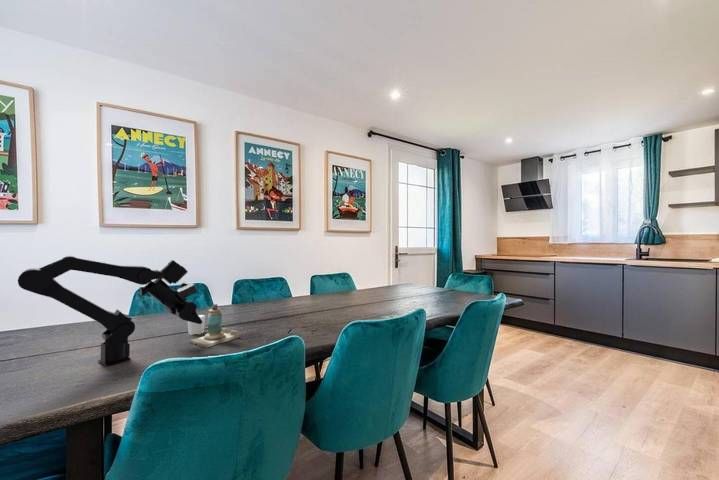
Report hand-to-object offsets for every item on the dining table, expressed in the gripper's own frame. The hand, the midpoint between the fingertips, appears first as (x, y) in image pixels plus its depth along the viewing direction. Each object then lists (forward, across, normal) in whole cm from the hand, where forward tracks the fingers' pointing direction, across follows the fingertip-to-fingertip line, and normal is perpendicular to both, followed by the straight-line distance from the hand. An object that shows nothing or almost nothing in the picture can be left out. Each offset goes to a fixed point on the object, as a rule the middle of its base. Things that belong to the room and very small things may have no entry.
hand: (197, 320), depth 118 cm
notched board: (+11, 0, +1) cm, 11 cm away
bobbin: (+10, 0, 0) cm, 10 cm away
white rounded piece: (+10, +15, +3) cm, 18 cm away
